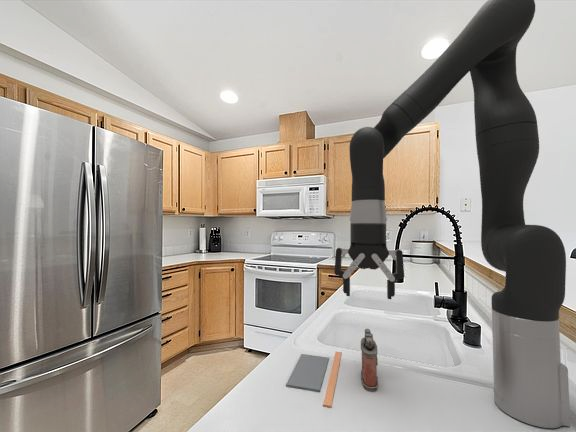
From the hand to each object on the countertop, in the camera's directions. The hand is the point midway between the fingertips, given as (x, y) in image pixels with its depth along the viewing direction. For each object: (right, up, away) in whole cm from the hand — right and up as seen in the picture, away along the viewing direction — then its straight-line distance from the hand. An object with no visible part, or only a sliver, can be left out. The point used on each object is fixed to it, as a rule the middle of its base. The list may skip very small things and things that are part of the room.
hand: (368, 296), depth 59 cm
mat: (-12, -18, +3) cm, 22 cm away
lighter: (0, -18, -1) cm, 18 cm away
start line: (-7, -18, +1) cm, 19 cm away
